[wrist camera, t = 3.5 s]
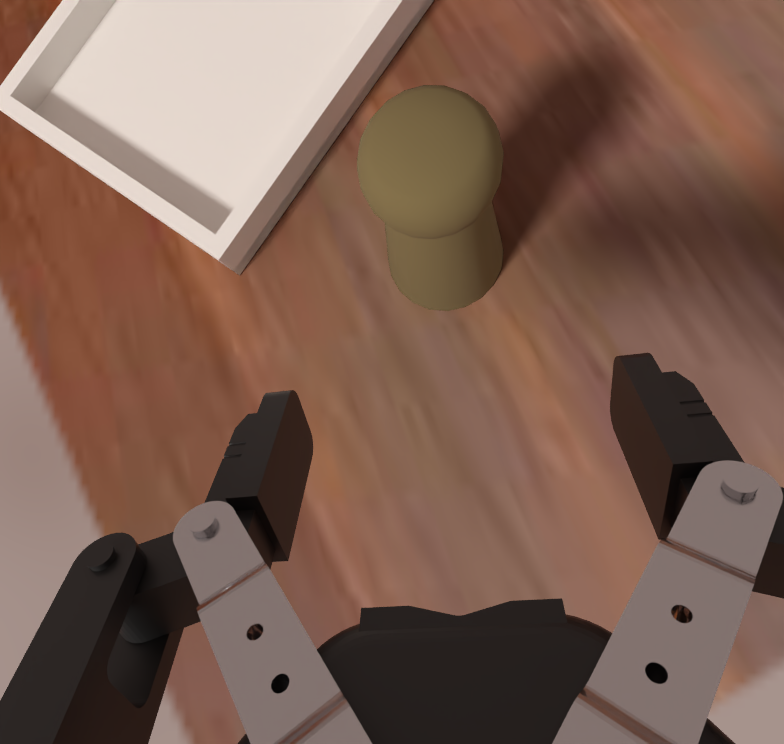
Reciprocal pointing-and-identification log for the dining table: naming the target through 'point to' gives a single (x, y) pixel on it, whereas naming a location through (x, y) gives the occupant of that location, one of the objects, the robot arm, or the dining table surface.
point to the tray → (205, 101)
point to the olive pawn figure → (435, 193)
